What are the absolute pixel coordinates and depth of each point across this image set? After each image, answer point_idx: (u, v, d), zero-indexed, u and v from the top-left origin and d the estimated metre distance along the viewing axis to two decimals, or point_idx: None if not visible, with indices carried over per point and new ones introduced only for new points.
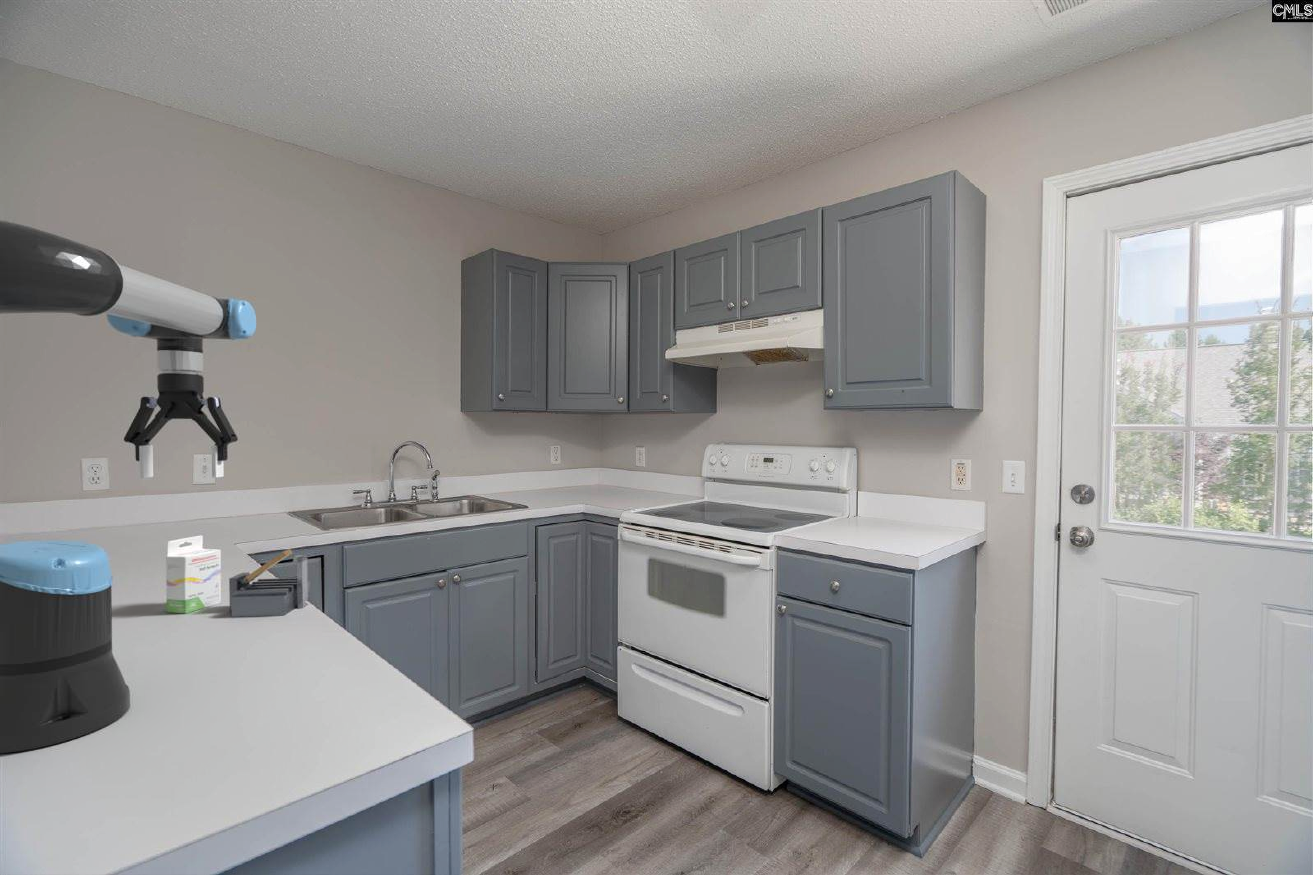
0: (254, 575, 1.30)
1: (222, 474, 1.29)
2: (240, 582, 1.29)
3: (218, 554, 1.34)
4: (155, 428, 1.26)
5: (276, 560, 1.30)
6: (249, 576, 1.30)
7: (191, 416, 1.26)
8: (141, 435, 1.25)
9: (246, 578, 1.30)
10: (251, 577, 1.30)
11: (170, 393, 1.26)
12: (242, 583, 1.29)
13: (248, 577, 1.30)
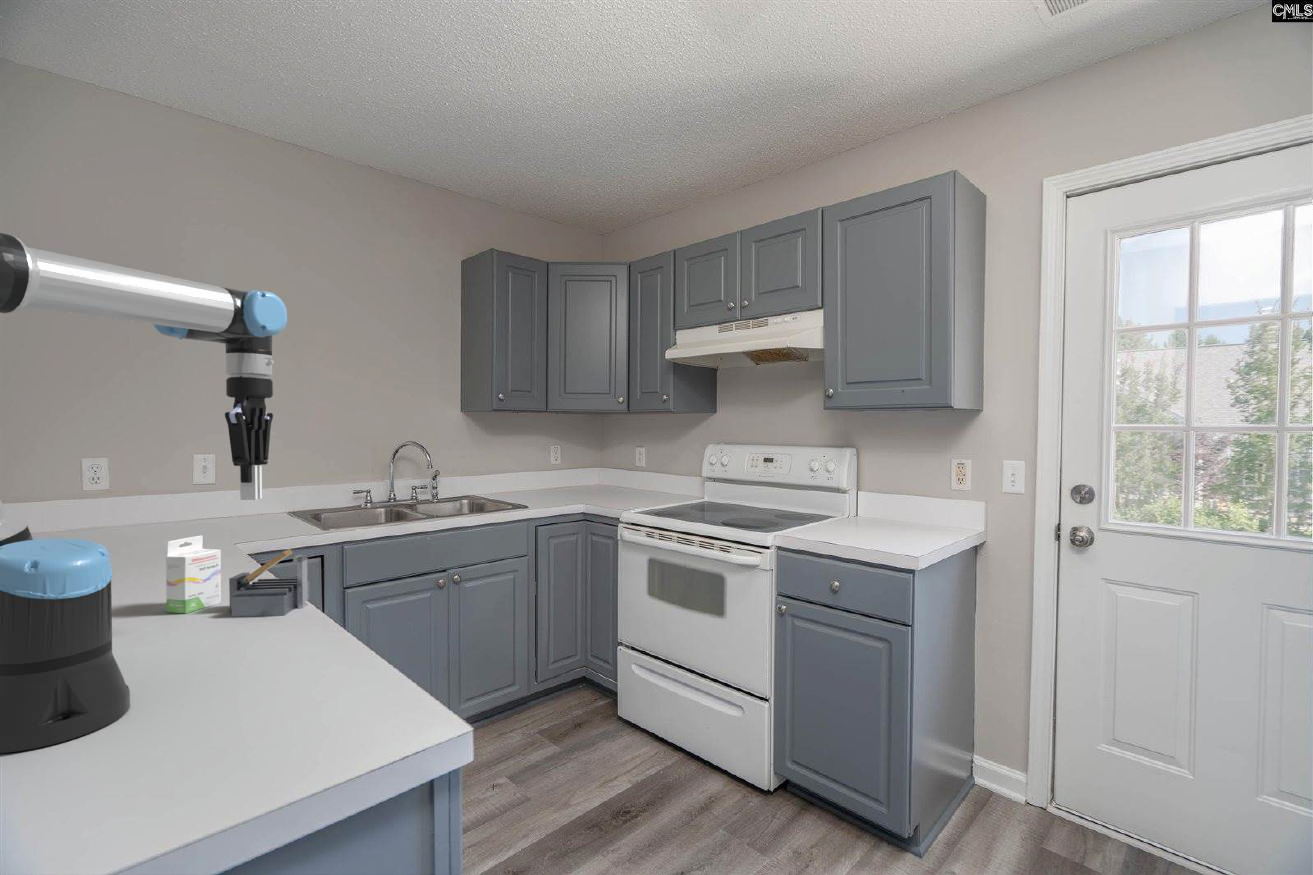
0: (254, 575, 1.30)
1: (253, 497, 1.19)
2: (240, 582, 1.29)
3: (218, 554, 1.34)
4: None
5: (276, 560, 1.30)
6: (249, 576, 1.30)
7: None
8: None
9: (246, 578, 1.30)
10: (251, 577, 1.30)
11: None
12: (242, 583, 1.29)
13: (248, 577, 1.30)
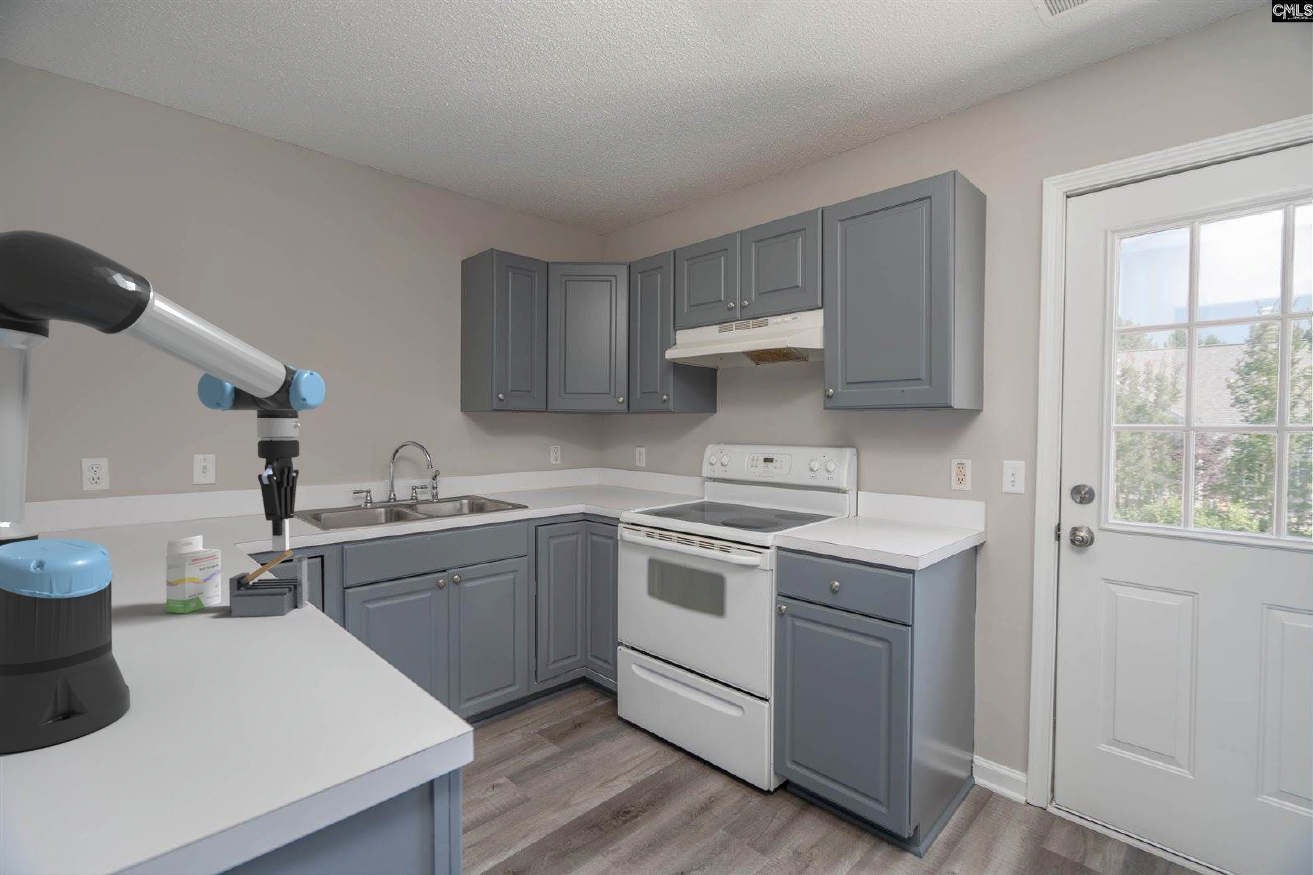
0: (254, 575, 1.30)
1: (284, 548, 1.31)
2: (240, 582, 1.29)
3: (218, 554, 1.34)
4: None
5: (277, 561, 1.30)
6: (249, 576, 1.30)
7: None
8: None
9: (246, 578, 1.30)
10: (251, 577, 1.30)
11: None
12: (242, 583, 1.29)
13: (248, 577, 1.30)
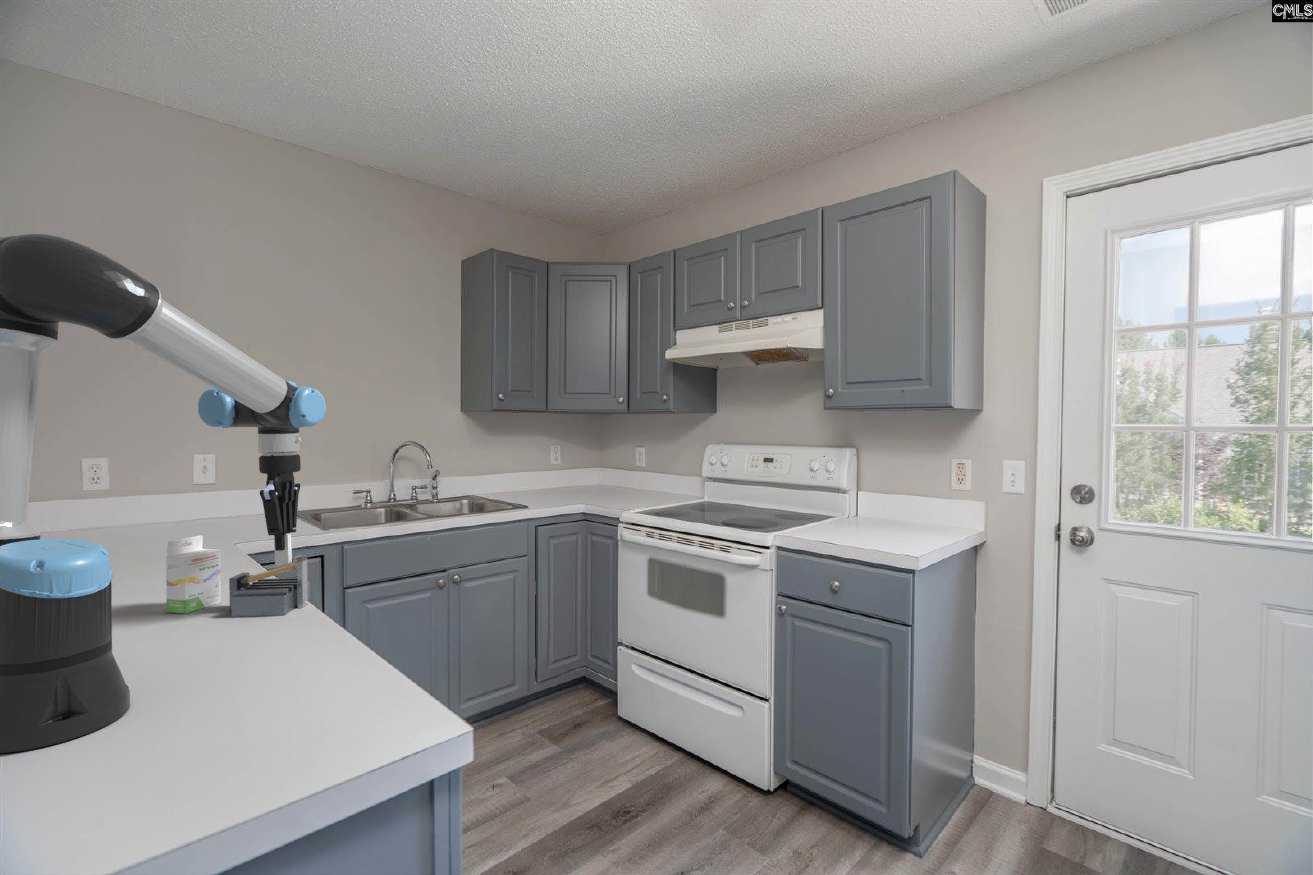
0: (256, 579, 1.30)
1: (286, 563, 1.32)
2: (240, 581, 1.29)
3: (218, 554, 1.34)
4: None
5: (282, 572, 1.31)
6: (251, 578, 1.30)
7: None
8: None
9: (247, 579, 1.30)
10: (252, 580, 1.30)
11: None
12: (242, 583, 1.29)
13: (249, 579, 1.30)
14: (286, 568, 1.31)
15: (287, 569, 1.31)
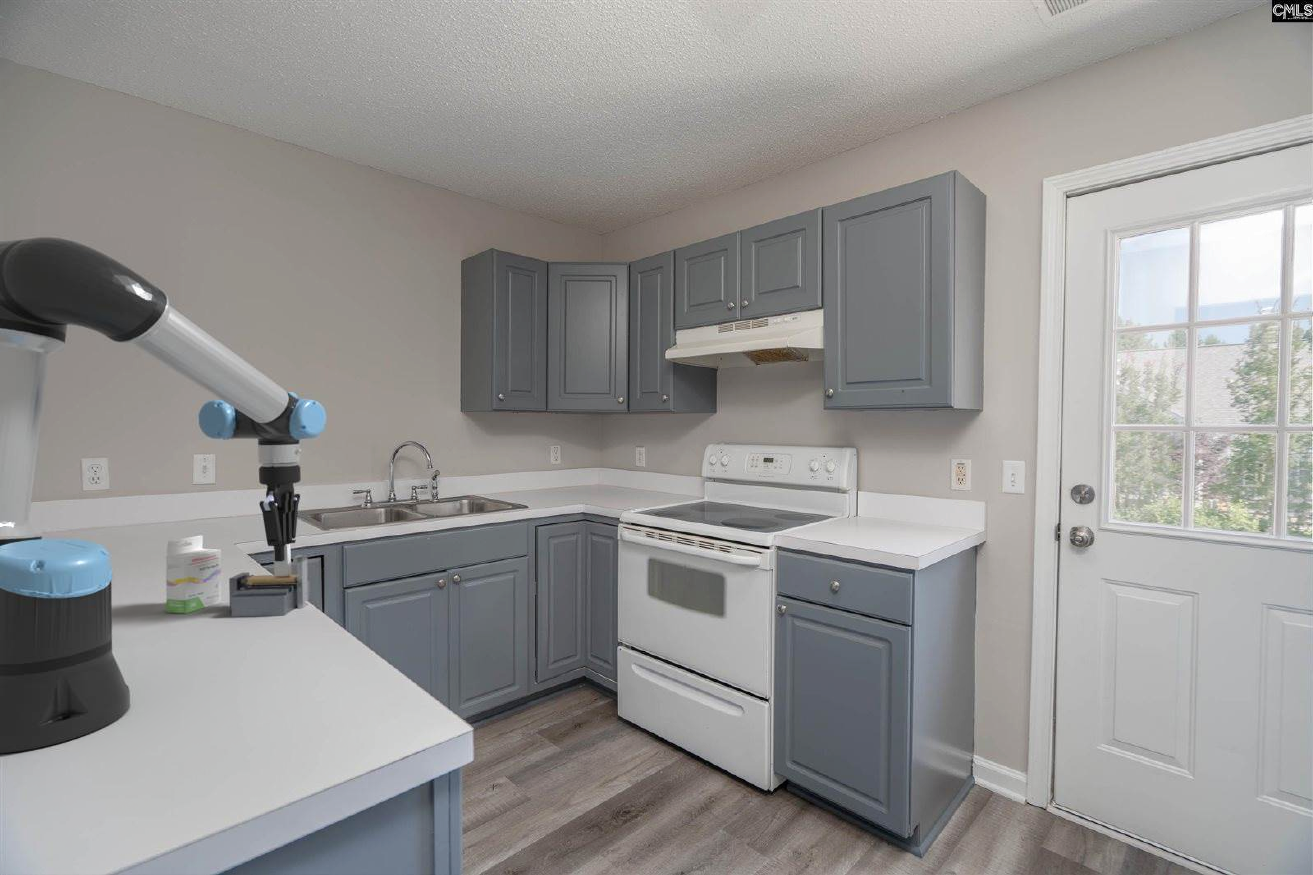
0: (256, 582, 1.30)
1: (286, 574, 1.32)
2: (240, 581, 1.29)
3: (218, 554, 1.34)
4: None
5: (283, 581, 1.31)
6: (251, 580, 1.30)
7: None
8: None
9: (247, 580, 1.30)
10: (252, 582, 1.30)
11: None
12: (241, 583, 1.29)
13: (250, 580, 1.30)
14: (288, 579, 1.31)
15: (289, 580, 1.31)
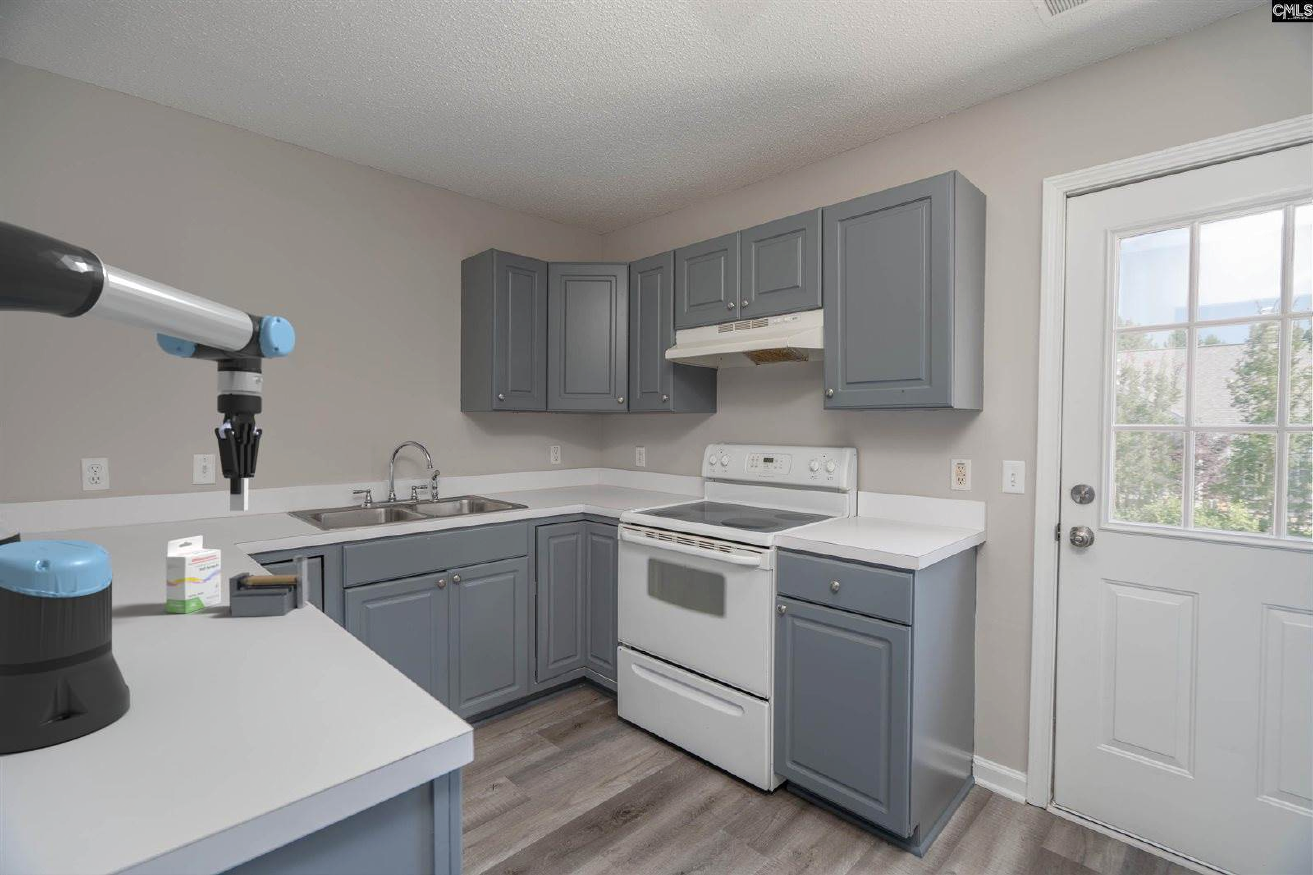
0: (256, 582, 1.30)
1: (242, 508, 1.26)
2: (240, 581, 1.29)
3: (218, 554, 1.34)
4: None
5: (283, 581, 1.31)
6: (251, 580, 1.30)
7: None
8: None
9: (247, 580, 1.30)
10: (252, 582, 1.30)
11: None
12: (241, 583, 1.29)
13: (250, 580, 1.30)
14: (288, 579, 1.31)
15: (289, 580, 1.31)
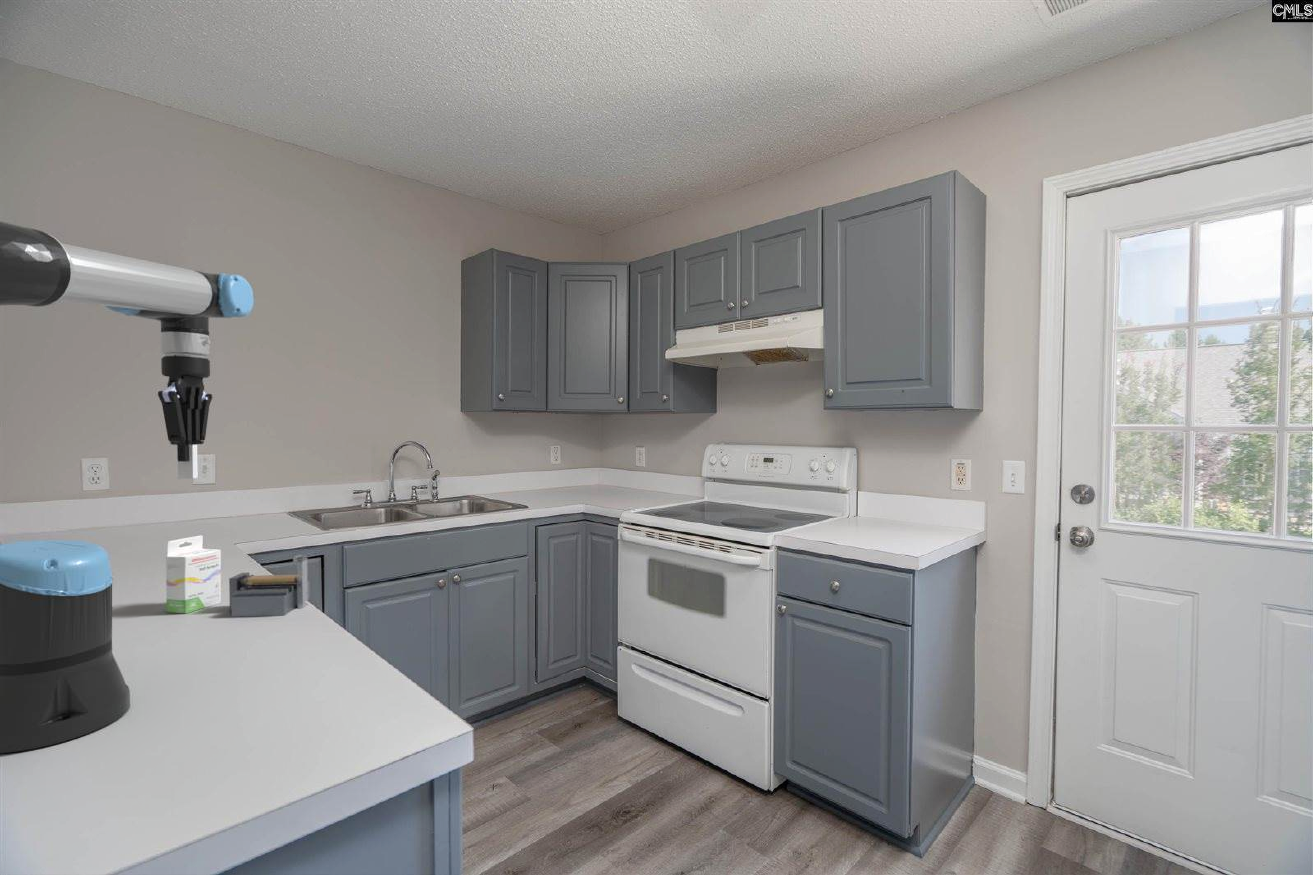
0: (256, 582, 1.30)
1: (191, 476, 1.20)
2: (240, 581, 1.29)
3: (218, 554, 1.34)
4: None
5: (283, 581, 1.31)
6: (251, 580, 1.30)
7: None
8: None
9: (247, 580, 1.30)
10: (252, 582, 1.30)
11: None
12: (241, 583, 1.29)
13: (250, 580, 1.30)
14: (288, 579, 1.31)
15: (289, 580, 1.31)
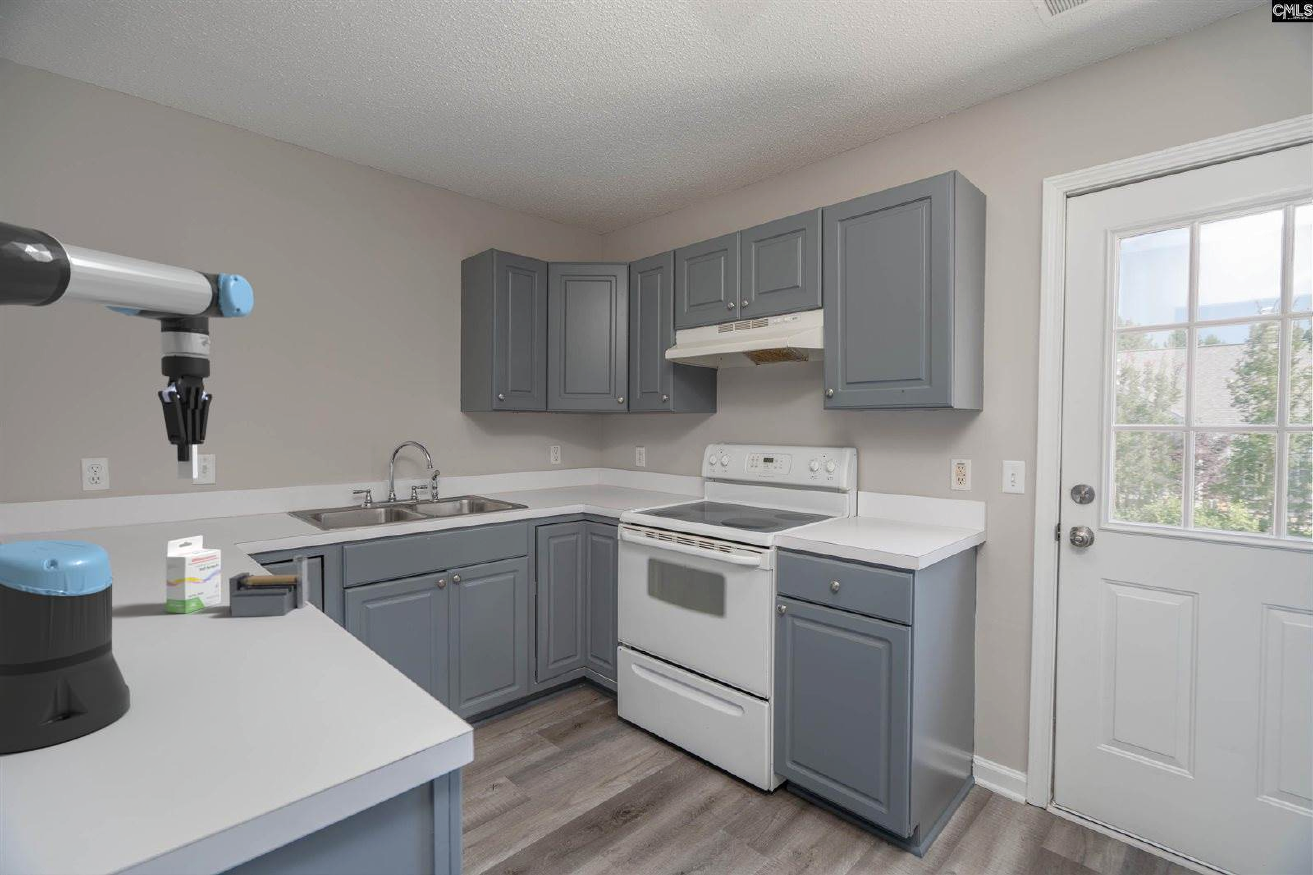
0: (256, 582, 1.30)
1: (191, 476, 1.20)
2: (240, 581, 1.29)
3: (218, 554, 1.34)
4: None
5: (283, 581, 1.31)
6: (251, 580, 1.30)
7: None
8: None
9: (247, 580, 1.30)
10: (252, 582, 1.30)
11: None
12: (241, 583, 1.29)
13: (250, 580, 1.30)
14: (288, 579, 1.31)
15: (289, 580, 1.31)
